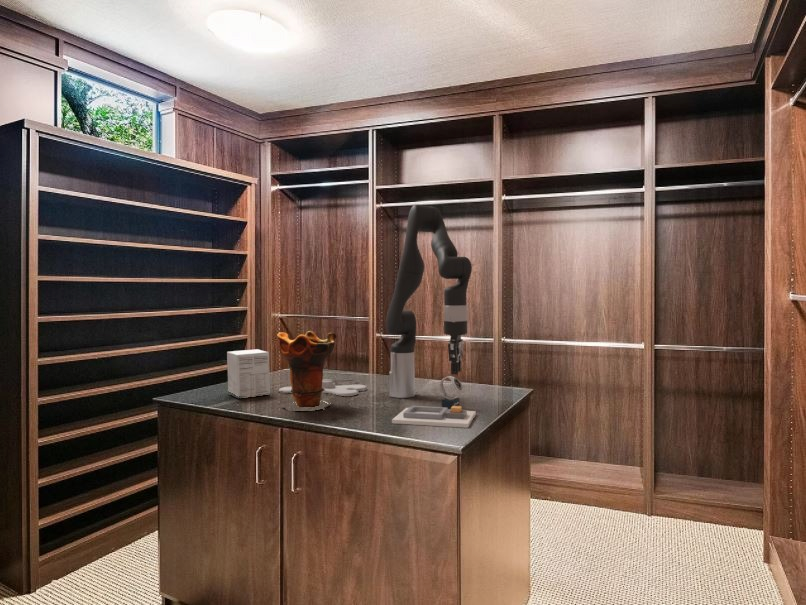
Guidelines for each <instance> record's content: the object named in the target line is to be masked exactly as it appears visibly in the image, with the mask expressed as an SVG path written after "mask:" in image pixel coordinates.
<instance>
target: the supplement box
mask: <svg viewBox="0 0 806 605" xmlns="http://www.w3.org/2000/svg"><path fill="white" fill-rule="evenodd" d="M226 359H227V360H226V361H227V363H226V364H227V365H226V366H227V392H228V391H229V392H231V393H233V394H235V395H236V396H238V397H239V396H248V395H258V394H266V393H271V392H270V390H271V389H270V388H271V387H270V382H271V381H270V352H269V351H265V350H261V349H259V348H256V349H244V350H233V351H227V352H226Z"/></svg>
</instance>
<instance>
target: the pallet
mask: <svg viewBox="0 0 806 605" xmlns="http://www.w3.org/2000/svg"><path fill="white" fill-rule="evenodd" d="M476 414H477V410H467V409H462V413H451V409H448V408H446V407H442V406H422V405H411V406H410V407H405V408H404V409H403V410H402V411H400V412H399V413H398V414H397V415H396V416H395V417H393V418H392V419H391V424H393V425H394V424H398V425H410V426H411V425H412V426H413V425H414V426H415V425H416V426H432V427H445V428H446V427H449V428H453V427H454V428H465V429H468V428H469V426H470V425H471V423H472V422H473V421H474V419H473V418H475V417H476Z"/></svg>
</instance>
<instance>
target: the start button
mask: <svg viewBox="0 0 806 605" xmlns="http://www.w3.org/2000/svg"><path fill="white" fill-rule="evenodd" d="M462 410H463V408H462V405H459V406H452V407H451V413H462Z"/></svg>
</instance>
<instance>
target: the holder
mask: <svg viewBox="0 0 806 605" xmlns="http://www.w3.org/2000/svg"><path fill="white" fill-rule="evenodd" d="M322 388H323V389H324V390H325V391H322V392H326V393H332V394H336V395H341V396H352V395H356V394H358V395H359V392H358V391H362V392H364V391H363V390H366V389H367V390H368V388H367V385H364V384H350V385H349V384H345V385H336V382H335V380H334V379H326V378H325V379H324V378H323V380H322ZM291 389H292V387H291V386H284V387H280V388H279V389H278V392H279V391H283V392H291ZM367 390H366V391H367Z"/></svg>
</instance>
